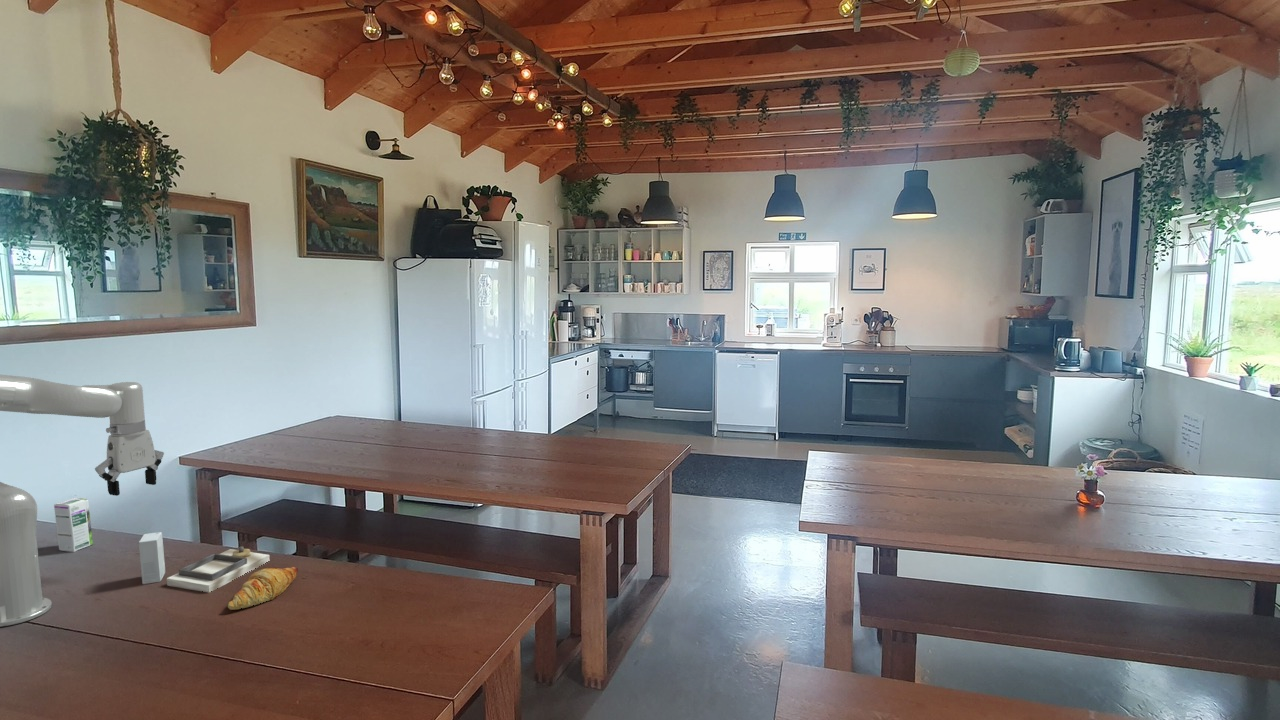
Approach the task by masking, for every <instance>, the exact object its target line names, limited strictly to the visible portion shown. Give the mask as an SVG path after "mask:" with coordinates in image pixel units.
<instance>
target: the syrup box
mask: <svg viewBox="0 0 1280 720" xmlns="http://www.w3.org/2000/svg"><path fill="white" fill-rule="evenodd" d="M53 508H54V509H53V510H54V518H55V524H56V526H55V527H56V535H57V542H58V550H59V551H64V552H70V553H75V552H77V551H79V550H83V549H85V548H88V547H90V546H93V545H94V541H93V534H92V533H93V531H92V523H91V514H90V505H89V499H87V498H81V497H73V498H70V499H68V500H64V501H62V502H58V503H55V504H54V505H53Z"/></svg>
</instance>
